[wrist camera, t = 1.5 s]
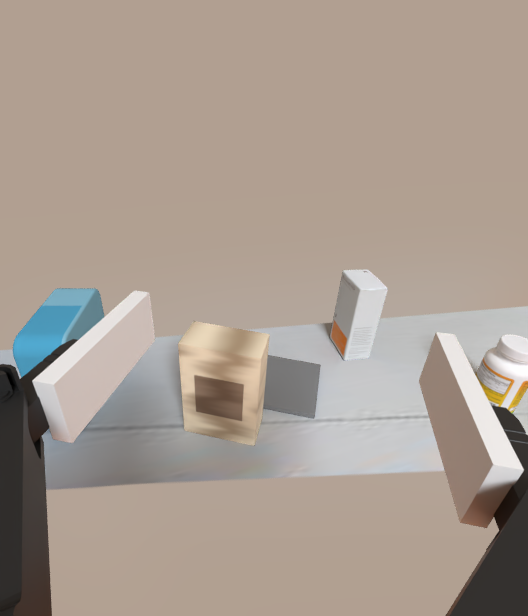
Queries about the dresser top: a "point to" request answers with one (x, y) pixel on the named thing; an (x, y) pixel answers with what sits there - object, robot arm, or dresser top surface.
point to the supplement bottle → (505, 372)
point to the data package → (56, 325)
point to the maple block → (223, 381)
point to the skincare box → (357, 313)
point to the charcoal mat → (291, 386)
